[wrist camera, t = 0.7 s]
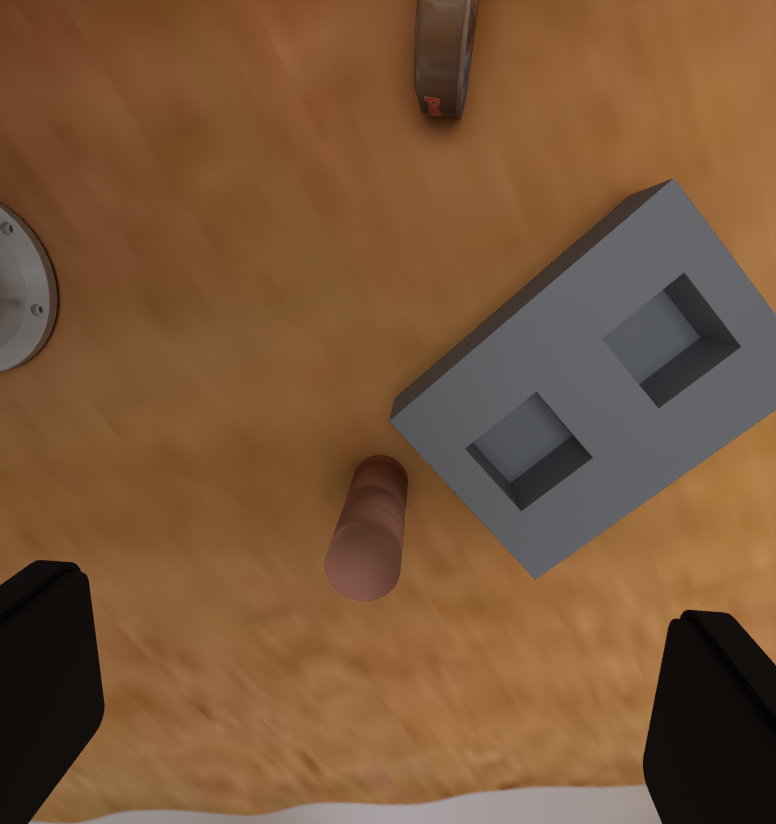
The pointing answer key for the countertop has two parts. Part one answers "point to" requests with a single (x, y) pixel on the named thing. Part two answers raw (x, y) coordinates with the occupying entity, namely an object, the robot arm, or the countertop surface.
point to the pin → (369, 532)
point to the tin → (443, 54)
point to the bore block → (598, 380)
